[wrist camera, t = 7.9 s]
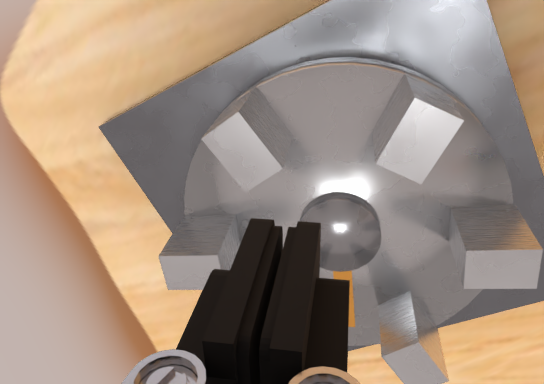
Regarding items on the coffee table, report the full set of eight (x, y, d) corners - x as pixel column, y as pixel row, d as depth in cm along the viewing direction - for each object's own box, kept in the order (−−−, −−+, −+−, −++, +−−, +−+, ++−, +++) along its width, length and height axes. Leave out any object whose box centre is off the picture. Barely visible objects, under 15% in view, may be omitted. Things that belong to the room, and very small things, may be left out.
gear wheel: (163, 74, 28) (115, 106, 23) (520, 38, 24) (571, 67, 19) (221, 324, 37) (197, 392, 32) (489, 327, 33) (518, 406, 28)
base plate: (459, -71, 24) (464, -72, 23) (574, 281, 32) (581, 292, 31) (105, 121, 32) (96, 127, 31) (270, 362, 40) (268, 373, 39)
